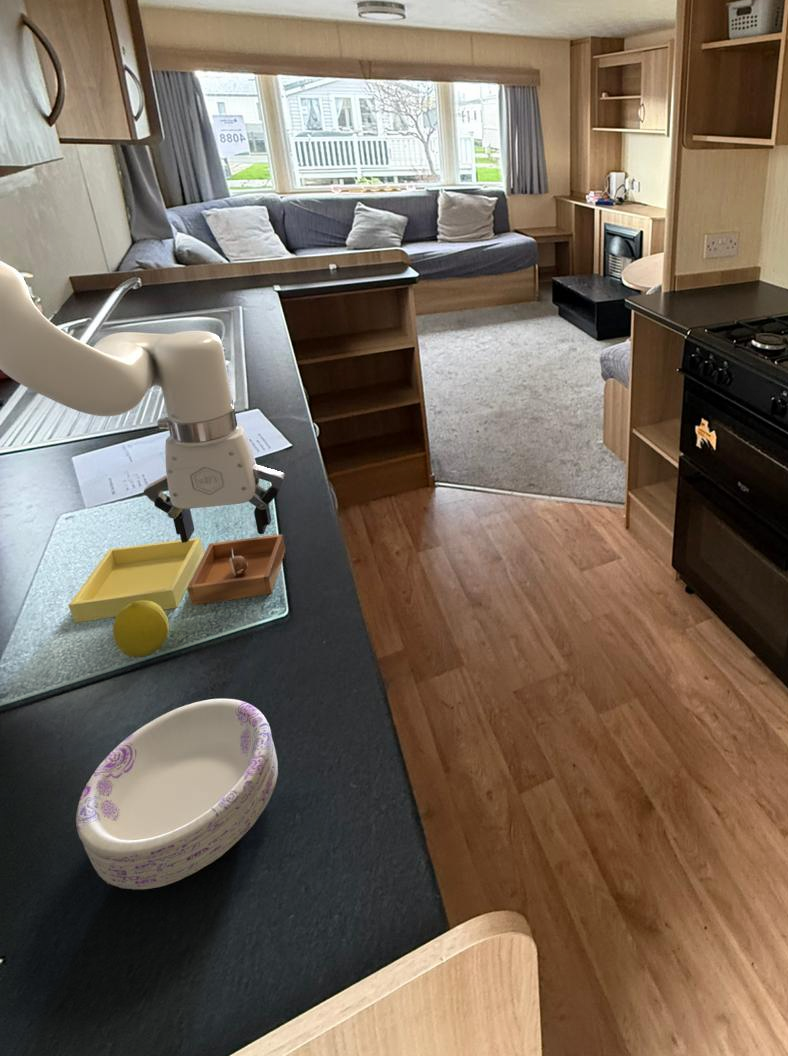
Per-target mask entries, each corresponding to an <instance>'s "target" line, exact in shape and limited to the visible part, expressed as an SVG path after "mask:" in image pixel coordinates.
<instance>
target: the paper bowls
mask: <svg viewBox="0 0 788 1056" xmlns="http://www.w3.org/2000/svg"><path fill="white" fill-rule="evenodd" d="M278 767H279V765H278V757H277V751H276V747H275V744H274V740H273V737H272V730H271V727H270V723H269V722H268V720H267V718H266V717H265V715H264V714H263V712H261V710H259V709H258V708H257V707H255V706H254V705H253V704H251V703H248V702H246V701H243V700H240V699H235V698H211V699H205V700H199V701H196V702H192V703H189V704H185V705H183V706H180V707H177V708H175V709H172V710H170V711H168V712H166V713H164V714H162V715H160V716H158V717H157V718H155V719H153V720H151V721H150V722H148V723H146V724H144V725H143V726H141V727H140V728H139V729H137V730H136V731H134V732H133V733H132V734H130V735H129V736H128V737H126V738H125V739H123V741H122V742H120V743H119V744H118V745H117V746H116V747H115V748H114V749H113V750H111V752H110V753H109V754H108V755H107V756H106V757H105V758H104V759H103V761H102V762H101V763H100V764H99V765H98V767H97V768H96V769H95V771H94V772H93V774H92V775H91V776H90V779H89V780H88V782H87V783H86V785H85V786H84V789H83V790H82V792H81V796H80V797H79V801H78V804H77V809H76V815H75V823H76V825H75V826H76V831H77V834H78V838H79V839H80V841H81V843H82V845H83V848H84V851H85V852H86V854H87V856H88V858H89V860H90V863H91V866H92V867H93V869H94V870H95V872H96V873H97V875H98V877H100V878H101V879H102V880H103V881H104V882H106V884H109V885H111V886H115V887H118V888H119V889H126V890H143V891H144V890H150V889H155V888H161V887H165V886H168V885H170V884H173V883H176V882H179V881H181V880H182V879H184V878H186V877H187V878H188V877H189V876H191V875H193V874H195V873H197V872H198V871H200V870H202V869H204V868H205V867H207V866H208V865H210V864H212V863H214V862H215V861H217V860H218V859H219V858H221V857H222V856H223V855H224V854H225V853H226V852H228V851H229V850H230V849H232V847H234V845H236V844H237V842H239V841H240V840H241V839H242V838H243V836H245V835H246V834H247V833H248V831H250V830H251V828H252V827H253V826H254V825H255V824H256V823H257V821H258V819H259V818H260V816H261V815H262V813H263V812H264V810H265V809H266V807H267V805H268V803H269V802H270V800H271V797H272V795H273V792H274V791H275V787H276V783H277V779H278V775H279V768H278Z"/></svg>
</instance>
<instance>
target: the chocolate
mask: <svg viewBox="0 0 788 1056" xmlns="http://www.w3.org/2000/svg"><path fill="white" fill-rule="evenodd" d="M232 556H233V549H232ZM230 564H231V568H232V571H233V574H234V576H239V575H241V574H242V573H244V571H245V570H246V569H247V565H248V563H247V561H246V559H245V558H243V557H242V556H233V557H231V558H230Z"/></svg>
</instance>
